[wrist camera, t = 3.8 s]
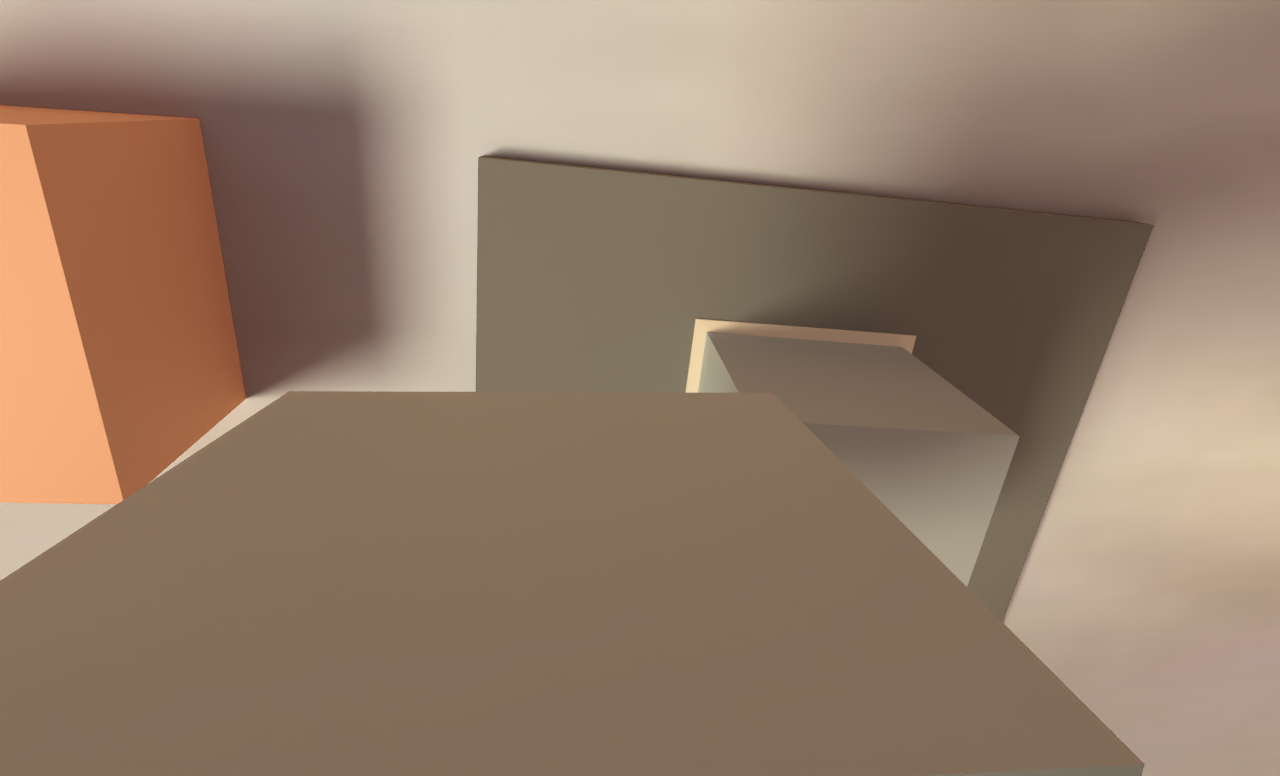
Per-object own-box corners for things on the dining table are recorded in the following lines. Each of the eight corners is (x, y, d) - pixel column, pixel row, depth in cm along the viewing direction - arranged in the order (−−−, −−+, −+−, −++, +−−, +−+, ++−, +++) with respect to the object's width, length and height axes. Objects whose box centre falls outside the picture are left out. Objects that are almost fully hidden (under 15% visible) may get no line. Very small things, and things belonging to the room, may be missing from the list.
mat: (926, 786, 24) (934, 800, 24) (473, 784, 23) (471, 800, 22) (1138, 221, 17) (1155, 226, 16) (481, 155, 15) (478, 157, 15)
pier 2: (857, 515, 19) (945, 648, 14) (680, 507, 18) (712, 642, 14) (902, 346, 17) (1019, 436, 12) (706, 332, 16) (753, 419, 12)
